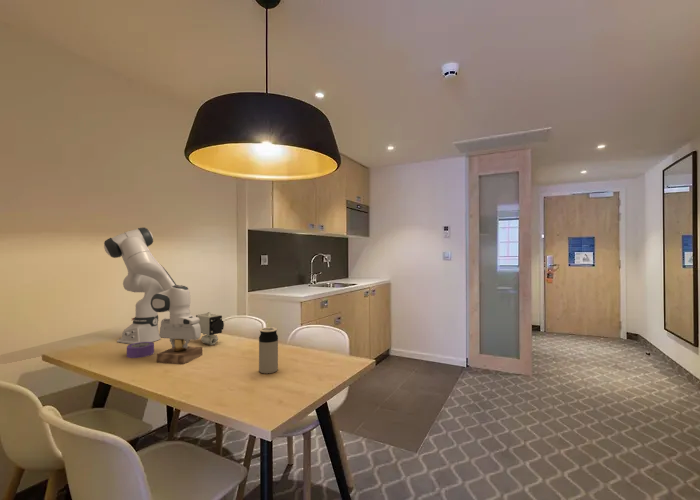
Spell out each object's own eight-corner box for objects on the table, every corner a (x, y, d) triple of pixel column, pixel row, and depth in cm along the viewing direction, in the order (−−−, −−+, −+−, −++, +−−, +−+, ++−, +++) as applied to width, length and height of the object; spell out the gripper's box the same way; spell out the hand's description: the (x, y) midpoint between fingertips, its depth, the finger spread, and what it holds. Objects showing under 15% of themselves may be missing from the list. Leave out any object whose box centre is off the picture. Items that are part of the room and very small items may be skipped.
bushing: (172, 354, 161) (172, 339, 161) (178, 351, 165) (178, 337, 165) (180, 355, 160) (180, 340, 160) (186, 352, 164) (186, 337, 164)
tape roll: (150, 357, 166) (150, 347, 166) (122, 359, 163) (122, 348, 163) (156, 350, 177) (156, 341, 177) (131, 352, 174) (131, 342, 174)
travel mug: (266, 375, 140) (266, 332, 140) (255, 371, 145) (255, 329, 146) (281, 370, 146) (281, 328, 146) (270, 366, 151) (270, 326, 152)
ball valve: (226, 344, 188) (226, 312, 188) (212, 348, 181) (212, 314, 181) (207, 339, 198) (207, 309, 198) (193, 343, 191) (193, 311, 191)
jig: (156, 362, 157) (156, 353, 157) (177, 353, 171) (177, 345, 171) (183, 364, 155) (183, 355, 155) (202, 355, 168) (202, 347, 168)
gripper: (156, 319, 162) (156, 348, 161) (194, 321, 158) (194, 350, 158) (165, 317, 168) (165, 345, 168) (202, 318, 164) (202, 347, 164)
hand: (179, 347), depth 163 cm, fingers closed on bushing, 4 cm apart
